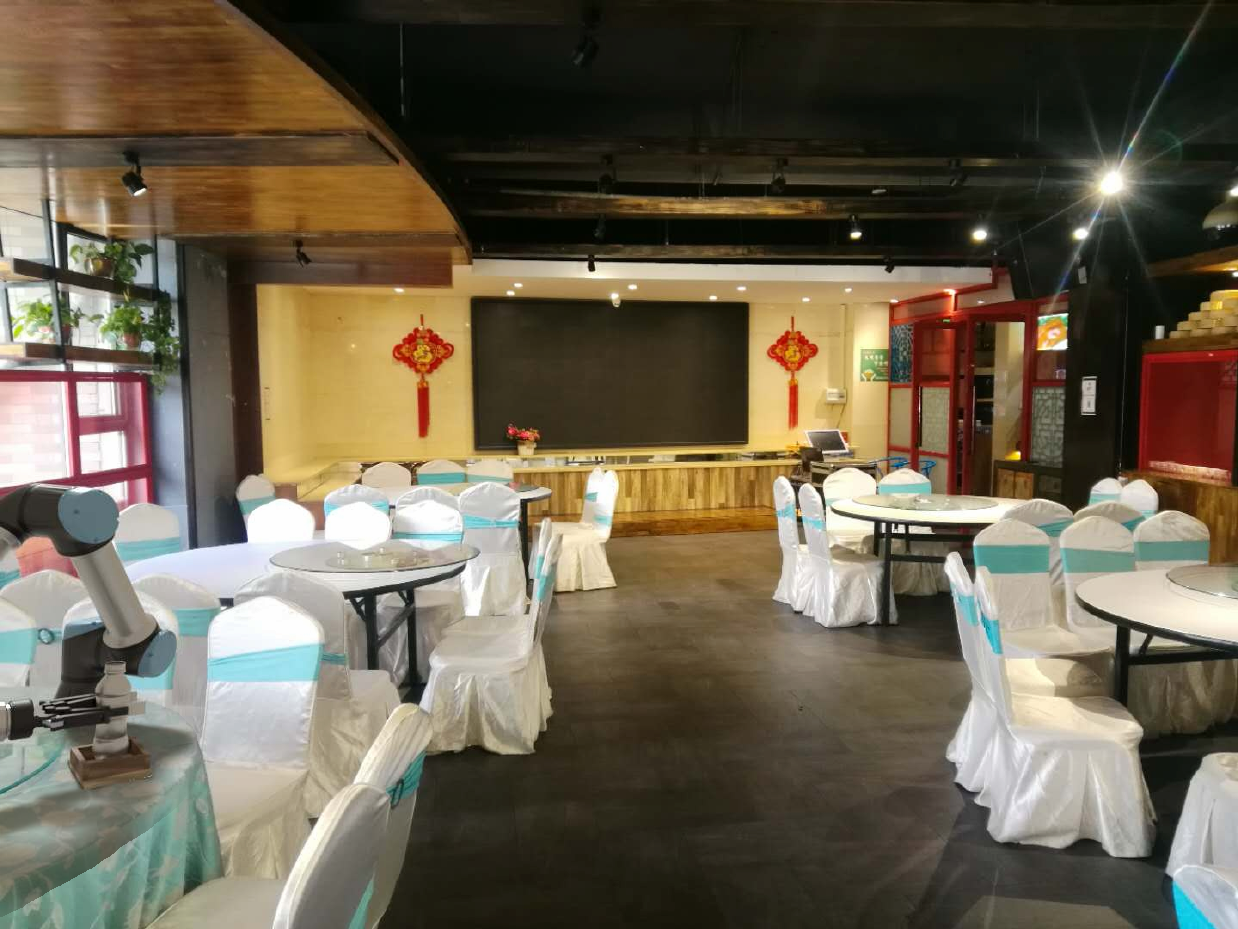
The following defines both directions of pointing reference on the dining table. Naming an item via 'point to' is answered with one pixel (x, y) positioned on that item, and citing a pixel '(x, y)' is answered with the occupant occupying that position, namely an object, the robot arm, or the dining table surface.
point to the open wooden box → (109, 765)
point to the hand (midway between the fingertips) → (140, 702)
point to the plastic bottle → (113, 735)
